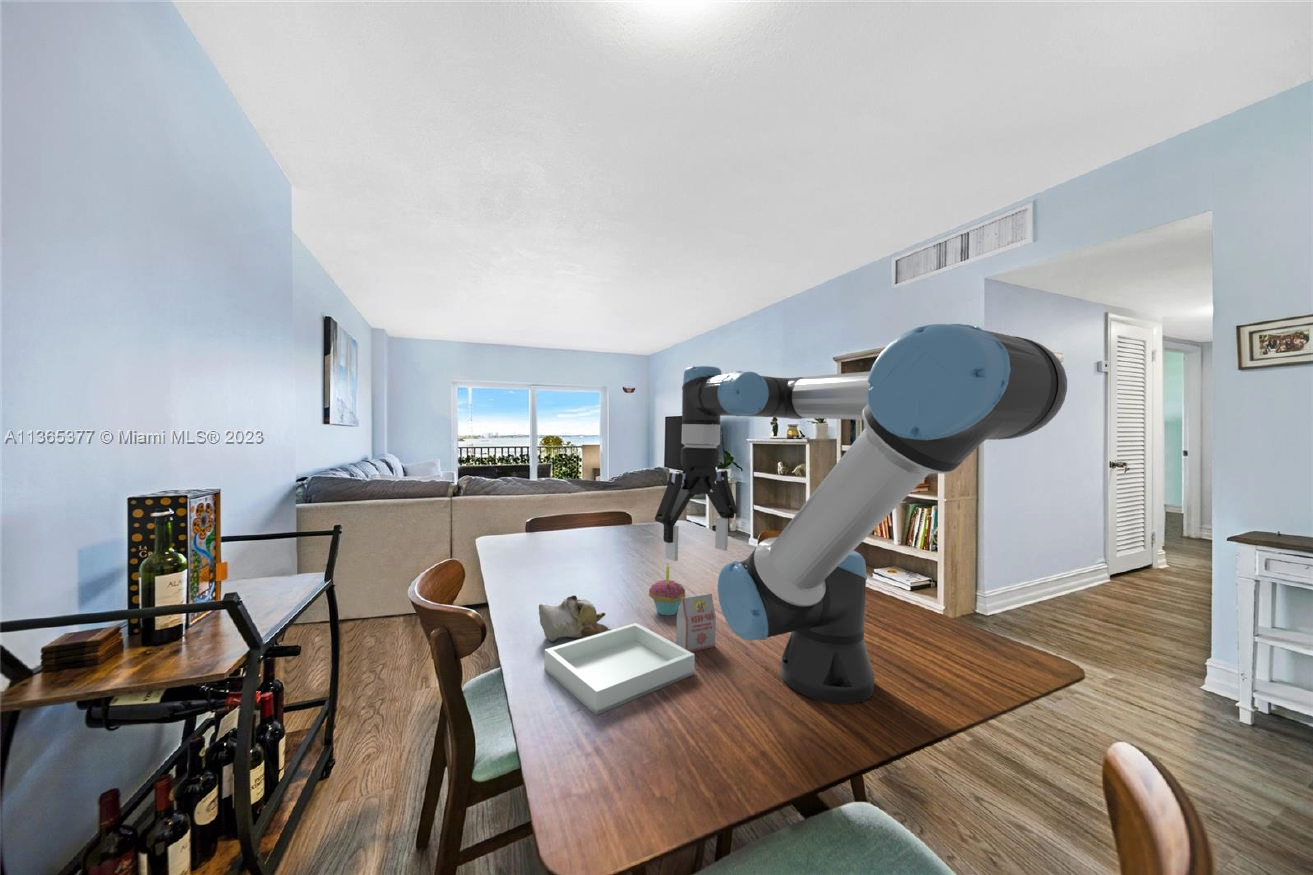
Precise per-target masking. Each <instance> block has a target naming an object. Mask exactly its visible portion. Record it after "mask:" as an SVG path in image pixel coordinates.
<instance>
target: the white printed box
mask: <svg viewBox="0 0 1313 875" xmlns="http://www.w3.org/2000/svg"><path fill="white" fill-rule="evenodd" d="M713 600H714V599H713V594H712V593H711V592H709V593H703V594H697V595H692V596H685V597H683V598H681V603H680V606H679V609H678V612H677V613H676V627H675V628H676V631H675V632H676V635H675V638H676V639H675V644H676V645H678V646H680V647H682V648H684V649H686V650H687V651H689V652H691V653H693V652H696V651H701V650H705V649H711V648H715V647H716V631H717V630H716V628H717V627H716V626H717V625H716V624H717V620H716V619H717V615H716V611H715V606H714V602H713Z"/></svg>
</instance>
